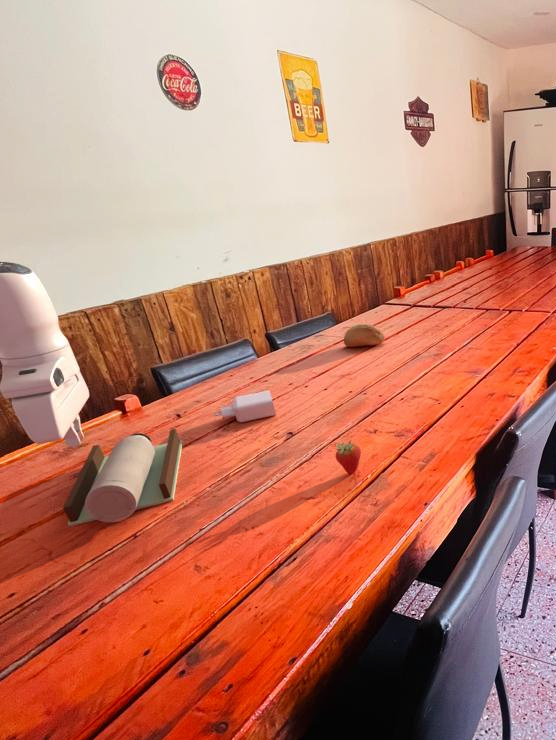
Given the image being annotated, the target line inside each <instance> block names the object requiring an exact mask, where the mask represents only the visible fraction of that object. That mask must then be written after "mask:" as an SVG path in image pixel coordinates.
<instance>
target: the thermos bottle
mask: <svg viewBox="0 0 556 740" xmlns="http://www.w3.org/2000/svg"><path fill="white" fill-rule="evenodd" d="M153 446H154V445H153V444H152V439H151V437H149V436H148V435H147V434H145V433H142V432H141V433H140V432H137V433H133V434H131V435H130V436H129V435H128V436H127V437H124V438H122V439H119V440H118V441H117V442H115V445H113V447H112V450H111V452H110V453H109V454H108V456H109V457H108V459H107V460H106V462H105V464H104V466H103V468H102V470H101V471H100V473H99V475H98V477H97V479H96V481H95V482H94V484H93V486H92V488H91V490H90V492H89V493H88V495H87V497H86V499H85V508H86V510H87V512H88V513H89V514H90V515H91V516H92V517H93V518H95V519H97V520H96V521H99V522H102V523H103V522H104V523H117V522H121V521H125V520H127V519H128V518H129V517H131V516H132V515H133V514H134V513H135V511H136V510H135V509H136V507H137V504H138V501H139V499H140V496H141V493H142V489H143V486H144V484H145V482H146V480H147V477H148V474H149V471H150V469H151V466H152V463H153V461H154V458H155V449H154V447H153Z"/></svg>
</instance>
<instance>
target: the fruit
mask: <svg viewBox="0 0 556 740" xmlns="http://www.w3.org/2000/svg"><path fill="white" fill-rule="evenodd" d="M338 442H339V444H337V442H336V443H335V447H336V448H334V449H335V450H336V452H335V459H336V461H337V463H338V464H339V465H341V467H342V468H343V469H344V471H345V472H346V473H347V474H350V475H351V474H354V473H356V471H358V467H359V465H360V459H361V455H362V450H361V448H360V446H359V445H357V444H355V442H353V443H352V439H349V441H348V442H347V443H346V444H345V443H344V442H343V441H342V440H341V439H339V441H338Z"/></svg>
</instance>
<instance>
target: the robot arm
mask: <svg viewBox="0 0 556 740" xmlns="http://www.w3.org/2000/svg"><path fill="white" fill-rule="evenodd" d="M0 363H1V365H2V367H1V370H2V371H1V372H2V376H1V380H0V393H1V395H2V397H3V398H4V399H11V406H12V409H13V411H14V413H15V415H16V417H17V419H18V421H19V422H20V424H21V427H22V428H23V430H24V432H25V433H26V434H27V436H28V438H29V439H30V440H31V441H32V442H34V443H35V444H38V445H42V444H43V445H44V444H48V443H53V442H57V441H61V440H63V439H64V441H65V443H66V446H68V447H70V448H73V447H78V446H80V445H81V443H82V441H83V439H84V438H85V435H84V433H83V430H82V425H81V418H80V415H79V414H80V412H81V411H82V409H83V407H84V406H85V404H86V402H87V401H88V399H89V398H90V391H89V388H88V385H87V383H86V380H85V378H84V377H83V374H82V372H81V368H80V366H79V363H78V361H77V359H76V357H75V354H74V351H73V349H72V347H71V344H70V342H69V340H68V338H67V337H66V336H65V335H64V333H63V332H62V330H61V328H60V325H59V316H58V312H57V310H56V308H55V307H54V304H53V302H52V300H51V298H50V296H49V294H48V292H47V289H46V288H45V286H44V285H43V282H42V281H41V280H40V278H39V277H38V275H37V274H35V272H34V271H33V270H32V269H31V268H29V267H27V266H25V265H23V264H20V263H15V262H9V261H0Z"/></svg>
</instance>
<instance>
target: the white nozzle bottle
mask: <svg viewBox="0 0 556 740" xmlns="http://www.w3.org/2000/svg"><path fill="white" fill-rule="evenodd" d="M271 394H272V393H271V391H270V390H269V389H267V390H264V391H259V392H254V393H249V394H245V395H240V396H235V397H234V398H232V405H228V406H223V407H221V408H220V411H215V412H213V415H212V416H213V417H218V416H222V419H229V418H233V417H235V418H236V422H239V423H245V422H250V421H255V420H259V419H264V418H269V417H273V416H276V415H277V413H276V409H275V405H274V401H273V398H272V395H271Z"/></svg>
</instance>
